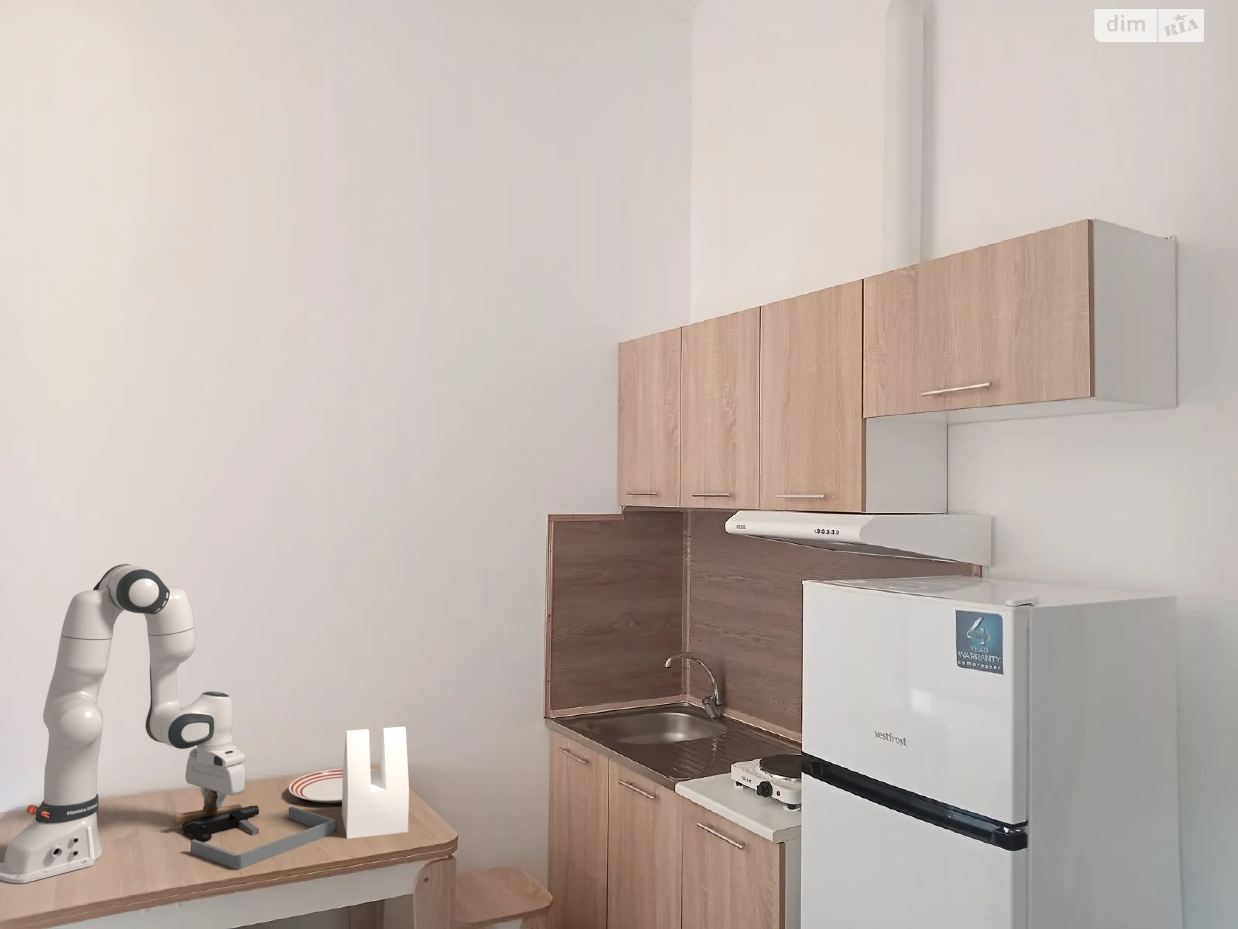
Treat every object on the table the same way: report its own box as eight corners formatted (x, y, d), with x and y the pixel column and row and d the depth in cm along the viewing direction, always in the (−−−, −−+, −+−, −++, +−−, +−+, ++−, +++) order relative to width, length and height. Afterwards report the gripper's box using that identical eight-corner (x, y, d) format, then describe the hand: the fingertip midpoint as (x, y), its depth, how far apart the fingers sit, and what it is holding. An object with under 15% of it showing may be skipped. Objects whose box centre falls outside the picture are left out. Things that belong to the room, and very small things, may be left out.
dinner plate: (387, 805, 269) (387, 793, 269) (284, 812, 261) (285, 800, 261) (384, 776, 295) (384, 765, 295) (291, 782, 288) (292, 771, 288)
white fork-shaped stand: (341, 814, 261) (343, 722, 261) (398, 808, 266) (400, 719, 266) (347, 839, 243) (349, 740, 243) (408, 832, 248) (410, 736, 248)
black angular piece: (280, 820, 249) (253, 802, 260) (204, 840, 235) (178, 819, 246) (280, 833, 249) (252, 813, 260) (203, 853, 235) (177, 832, 246)
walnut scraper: (175, 826, 244) (184, 797, 243) (172, 822, 245) (181, 793, 244) (240, 815, 258) (249, 788, 257) (236, 811, 259) (246, 784, 258)
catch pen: (237, 870, 222) (237, 857, 222) (190, 853, 231) (190, 840, 232) (337, 831, 247) (337, 820, 247) (291, 817, 257) (291, 806, 257)
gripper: (179, 749, 254) (178, 801, 254) (228, 762, 244) (227, 816, 243) (200, 744, 260) (199, 795, 259) (249, 756, 249) (248, 809, 249)
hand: (213, 805), depth 251 cm, fingers closed on walnut scraper, 3 cm apart
